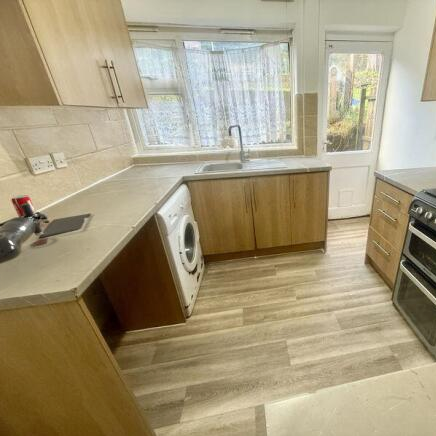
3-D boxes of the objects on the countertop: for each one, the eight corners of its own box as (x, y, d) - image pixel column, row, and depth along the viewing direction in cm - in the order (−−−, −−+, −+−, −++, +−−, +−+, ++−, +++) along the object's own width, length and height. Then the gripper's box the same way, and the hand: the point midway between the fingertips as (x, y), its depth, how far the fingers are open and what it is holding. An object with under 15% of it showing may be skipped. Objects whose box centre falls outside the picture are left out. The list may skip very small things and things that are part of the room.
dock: (29, 248, 96) (28, 247, 95) (35, 241, 101) (34, 240, 101) (52, 244, 99) (51, 243, 98) (57, 237, 104) (56, 236, 104)
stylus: (34, 236, 97) (19, 205, 92) (36, 233, 99) (21, 203, 94) (42, 234, 98) (27, 204, 93) (44, 232, 100) (30, 202, 95)
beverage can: (22, 228, 114) (4, 198, 107) (39, 222, 119) (23, 193, 113) (29, 230, 111) (11, 199, 105) (46, 224, 117) (30, 194, 110)
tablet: (39, 239, 103) (38, 237, 102) (54, 221, 120) (53, 219, 120) (83, 230, 109) (83, 228, 109) (91, 214, 127) (90, 213, 127)
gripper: (38, 217, 86) (52, 202, 99) (-19, 226, 79) (4, 209, 93) (47, 236, 89) (59, 219, 102) (-7, 246, 82) (14, 227, 96)
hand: (33, 215), depth 98 cm, fingers closed on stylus, 2 cm apart
